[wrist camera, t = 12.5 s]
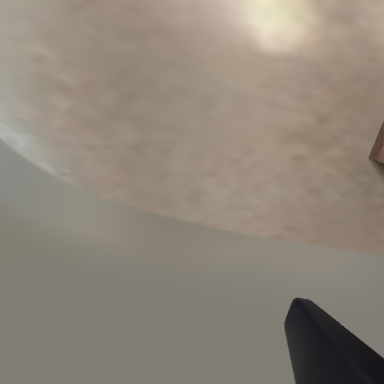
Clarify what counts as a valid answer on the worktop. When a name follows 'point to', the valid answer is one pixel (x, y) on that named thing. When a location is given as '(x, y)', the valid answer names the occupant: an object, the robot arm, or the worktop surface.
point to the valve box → (378, 147)
